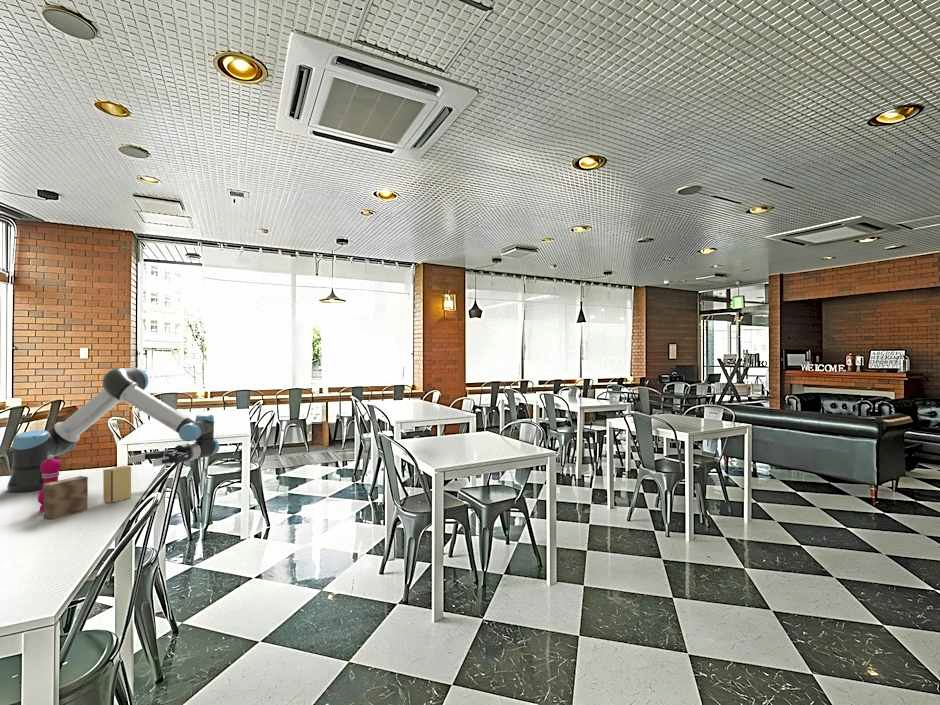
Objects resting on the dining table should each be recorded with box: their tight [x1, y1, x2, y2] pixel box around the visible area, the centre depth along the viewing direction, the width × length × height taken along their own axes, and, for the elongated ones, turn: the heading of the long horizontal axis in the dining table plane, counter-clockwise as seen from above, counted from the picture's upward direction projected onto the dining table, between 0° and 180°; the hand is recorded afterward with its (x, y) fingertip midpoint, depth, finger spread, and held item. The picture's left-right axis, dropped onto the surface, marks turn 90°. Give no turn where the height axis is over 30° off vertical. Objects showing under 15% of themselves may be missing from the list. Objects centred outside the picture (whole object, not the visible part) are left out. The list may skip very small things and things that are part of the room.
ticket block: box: [43, 475, 89, 521], centre depth 183 cm, size 12×4×12 cm, turn 160°
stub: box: [102, 465, 132, 504], centre depth 200 cm, size 8×4×12 cm, turn 160°
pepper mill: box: [37, 455, 62, 513], centre depth 188 cm, size 7×7×20 cm
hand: (141, 461), depth 209 cm, fingers open, 13 cm apart
